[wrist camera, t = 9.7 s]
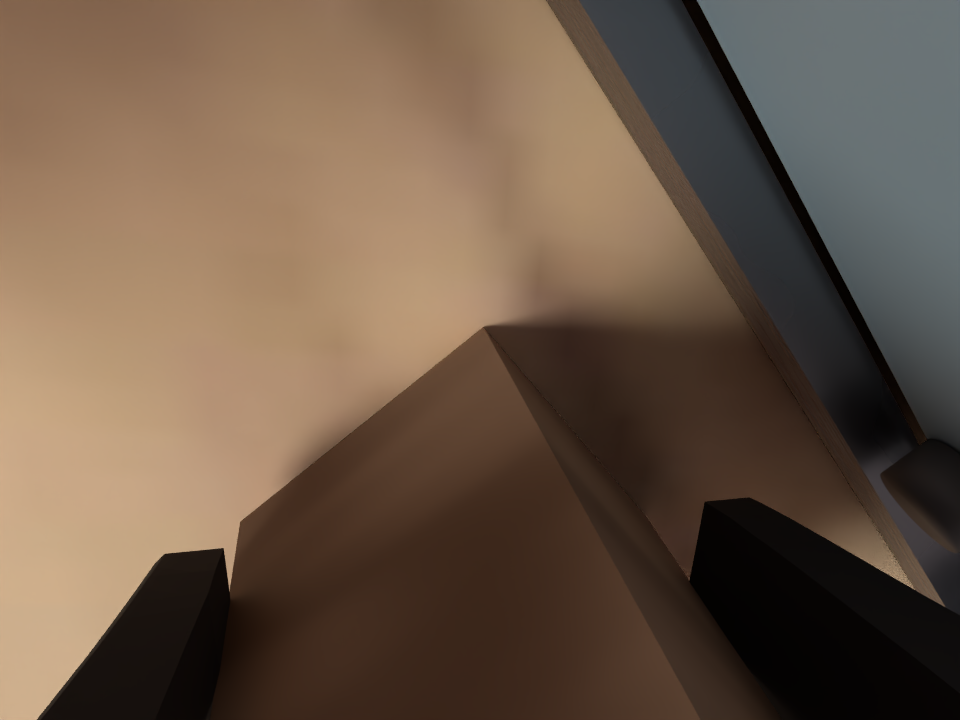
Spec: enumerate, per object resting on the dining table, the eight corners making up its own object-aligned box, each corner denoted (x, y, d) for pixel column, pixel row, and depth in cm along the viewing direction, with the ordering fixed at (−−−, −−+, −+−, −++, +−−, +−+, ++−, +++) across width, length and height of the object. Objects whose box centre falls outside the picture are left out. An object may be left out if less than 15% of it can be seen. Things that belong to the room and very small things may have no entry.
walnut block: (434, 673, 11) (544, 1270, 6) (240, 522, 9) (138, 1179, 4) (646, 515, 11) (974, 1006, 5) (483, 327, 9) (730, 775, 4)
